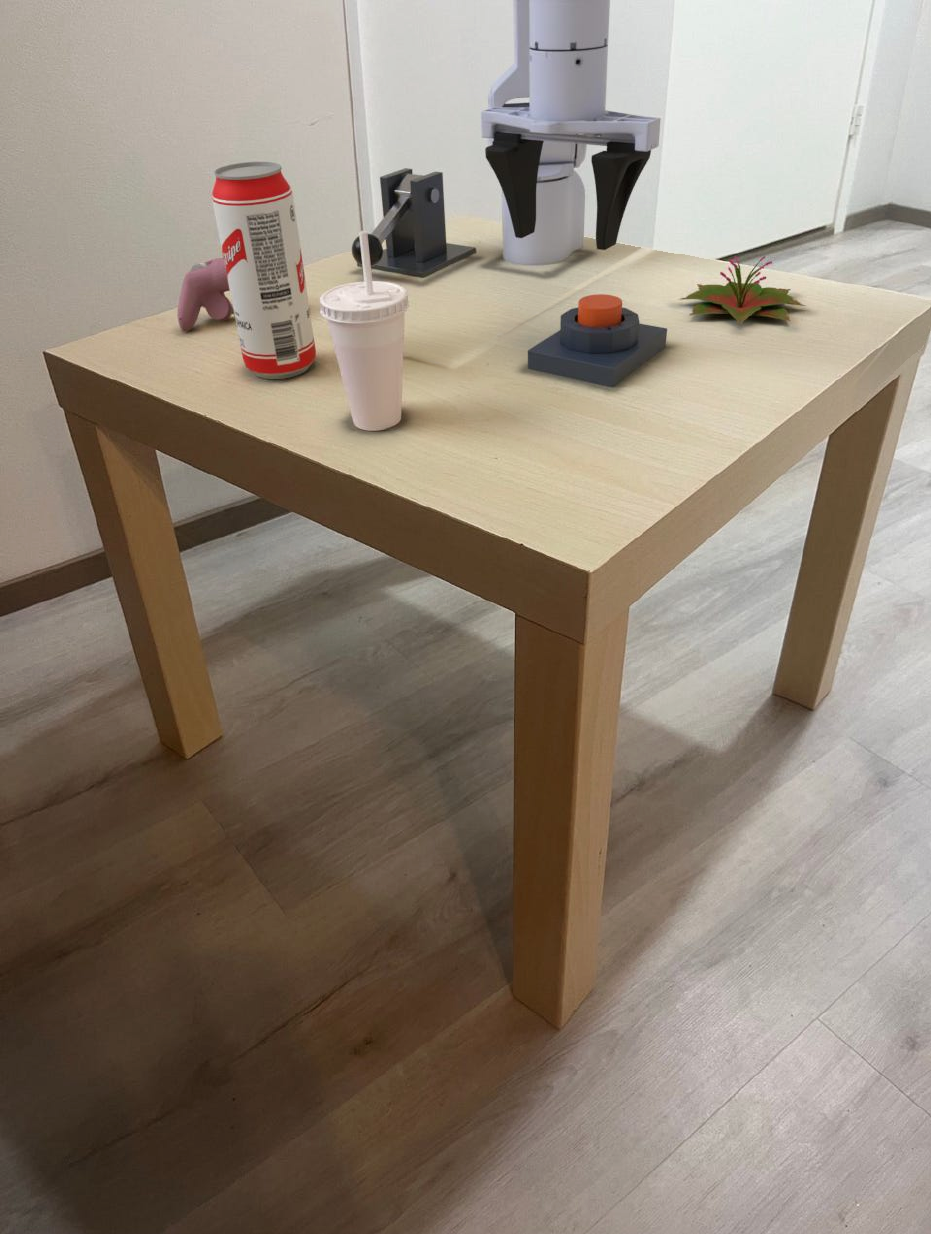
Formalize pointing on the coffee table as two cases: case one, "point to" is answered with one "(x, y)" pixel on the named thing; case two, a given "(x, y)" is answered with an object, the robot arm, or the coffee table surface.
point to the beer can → (264, 268)
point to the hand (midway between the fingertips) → (564, 240)
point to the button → (599, 310)
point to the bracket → (418, 228)
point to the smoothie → (369, 344)
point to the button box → (597, 349)
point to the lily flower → (742, 297)
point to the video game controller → (204, 293)
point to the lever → (386, 223)
